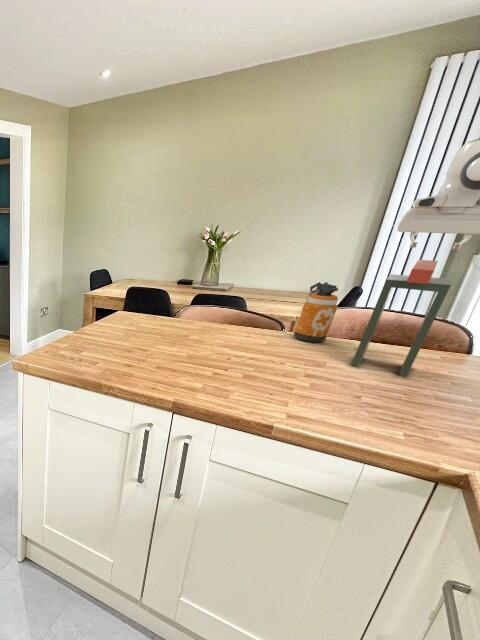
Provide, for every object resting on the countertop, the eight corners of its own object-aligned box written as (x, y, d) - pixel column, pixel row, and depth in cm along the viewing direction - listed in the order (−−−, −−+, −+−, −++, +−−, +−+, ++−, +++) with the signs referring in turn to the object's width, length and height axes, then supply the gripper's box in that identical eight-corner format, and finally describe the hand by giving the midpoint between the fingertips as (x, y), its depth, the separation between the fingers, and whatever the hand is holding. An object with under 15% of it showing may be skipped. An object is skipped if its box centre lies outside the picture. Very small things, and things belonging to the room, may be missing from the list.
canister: (302, 342, 140) (321, 285, 132) (284, 333, 150) (302, 279, 142) (330, 343, 139) (352, 286, 131) (311, 333, 149) (330, 279, 141)
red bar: (432, 273, 117) (438, 260, 115) (428, 284, 104) (434, 270, 102) (412, 271, 119) (418, 259, 118) (406, 282, 106) (412, 268, 105)
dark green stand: (409, 366, 119) (452, 279, 108) (406, 377, 113) (451, 285, 102) (356, 356, 128) (390, 274, 117) (350, 365, 121) (386, 279, 110)
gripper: (509, 199, 115) (484, 249, 121) (409, 200, 129) (390, 245, 135) (511, 200, 111) (484, 251, 117) (407, 201, 125) (388, 247, 131)
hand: (433, 248), depth 126 cm, fingers open, 8 cm apart
